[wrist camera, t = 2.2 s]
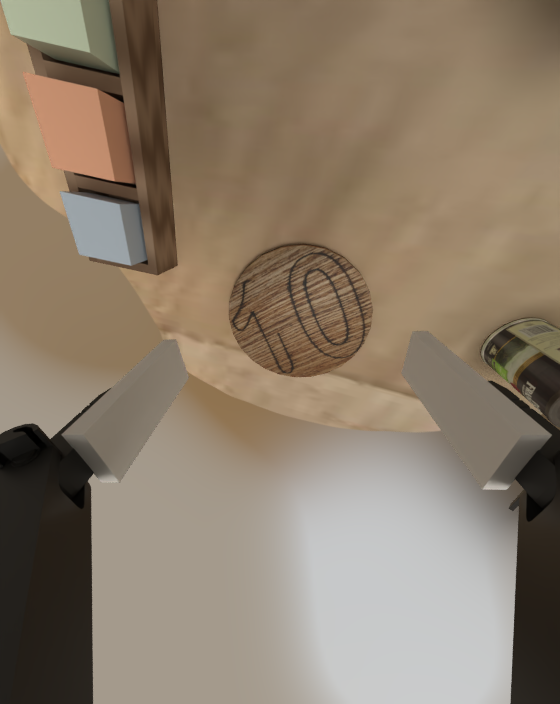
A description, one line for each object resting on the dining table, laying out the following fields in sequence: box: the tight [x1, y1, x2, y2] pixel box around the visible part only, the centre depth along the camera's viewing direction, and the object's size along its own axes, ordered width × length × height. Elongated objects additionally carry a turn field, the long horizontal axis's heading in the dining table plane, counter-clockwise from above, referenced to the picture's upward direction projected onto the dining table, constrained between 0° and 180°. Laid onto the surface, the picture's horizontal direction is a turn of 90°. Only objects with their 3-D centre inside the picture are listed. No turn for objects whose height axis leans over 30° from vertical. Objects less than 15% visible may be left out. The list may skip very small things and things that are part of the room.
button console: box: [27, 0, 178, 275], centre depth 27 cm, size 28×10×6 cm, turn 170°
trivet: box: [229, 244, 373, 377], centre depth 40 cm, size 25×25×2 cm
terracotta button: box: [23, 72, 136, 184], centre depth 24 cm, size 7×7×4 cm
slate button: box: [60, 191, 147, 266], centre depth 29 cm, size 7×7×4 cm
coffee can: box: [481, 318, 560, 427], centre depth 33 cm, size 10×10×14 cm
